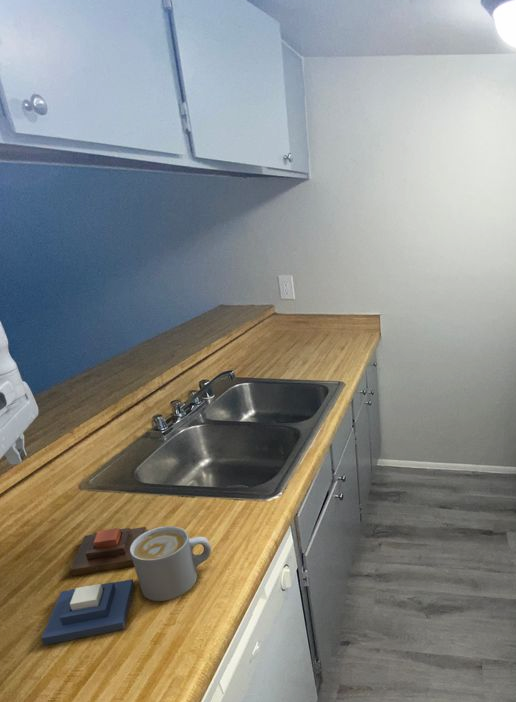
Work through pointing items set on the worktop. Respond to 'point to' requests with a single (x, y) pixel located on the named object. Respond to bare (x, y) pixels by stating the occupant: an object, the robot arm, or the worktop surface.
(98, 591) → the white square button cap
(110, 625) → the blue stepped button base
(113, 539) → the red square button
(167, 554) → the coffee mug
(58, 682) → the worktop surface
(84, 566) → the brown stepped button base
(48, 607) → the worktop surface
